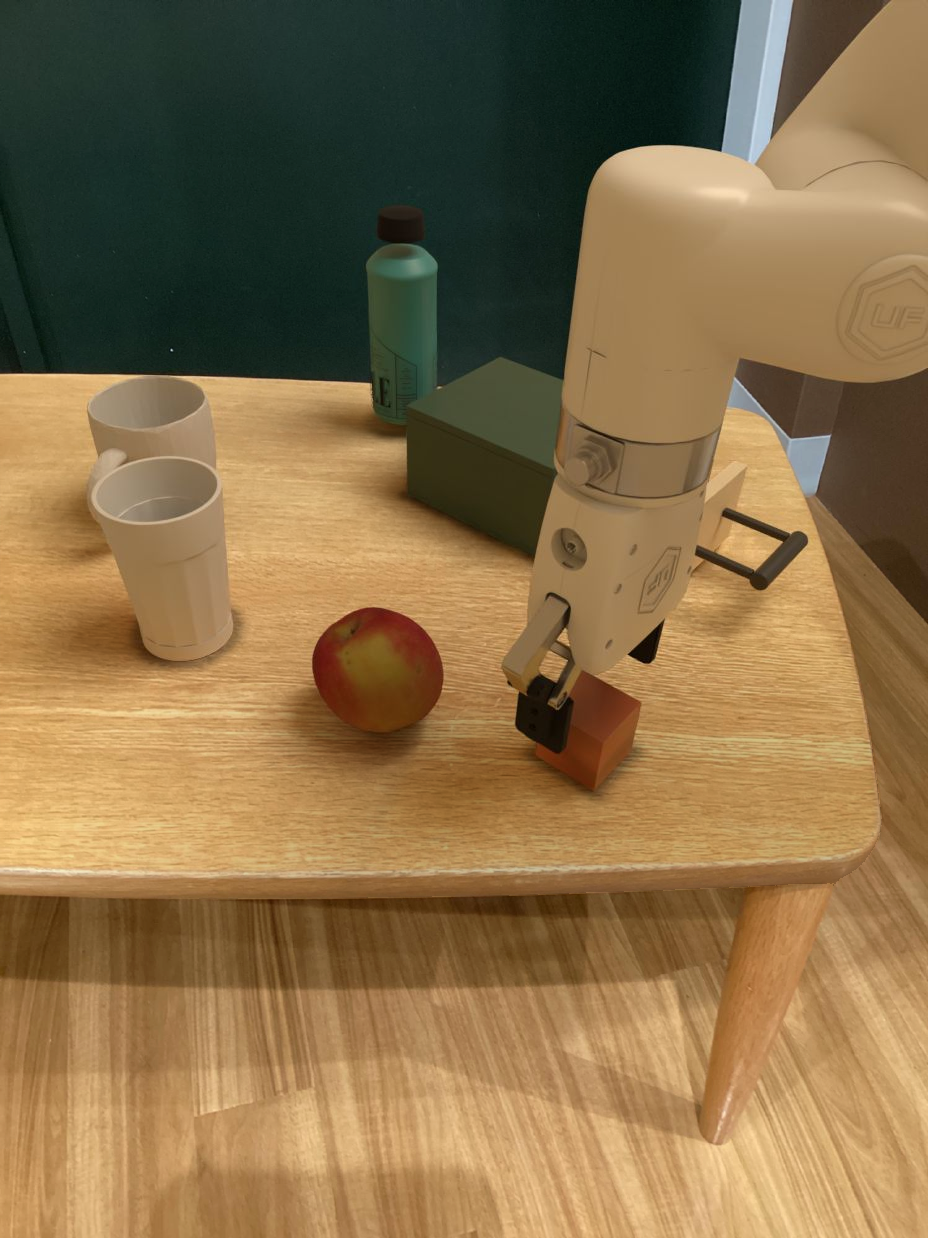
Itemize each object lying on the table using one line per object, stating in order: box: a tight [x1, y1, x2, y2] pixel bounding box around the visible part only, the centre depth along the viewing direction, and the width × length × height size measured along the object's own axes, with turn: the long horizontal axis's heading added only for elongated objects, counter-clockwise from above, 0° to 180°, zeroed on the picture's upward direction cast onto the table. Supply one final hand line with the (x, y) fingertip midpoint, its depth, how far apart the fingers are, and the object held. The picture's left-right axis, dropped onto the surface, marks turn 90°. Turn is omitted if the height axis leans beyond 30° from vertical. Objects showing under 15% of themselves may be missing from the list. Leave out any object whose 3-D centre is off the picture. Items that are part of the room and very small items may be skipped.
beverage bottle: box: [365, 204, 440, 426], centre depth 84 cm, size 6×7×20 cm
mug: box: [85, 375, 217, 525], centre depth 73 cm, size 13×9×10 cm
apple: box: [311, 606, 445, 733], centre depth 58 cm, size 8×8×8 cm
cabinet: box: [405, 356, 564, 558], centre depth 78 cm, size 15×13×9 cm
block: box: [535, 670, 643, 792], centre depth 57 cm, size 4×4×4 cm
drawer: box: [691, 458, 809, 591], centre depth 72 cm, size 20×11×7 cm, turn 51°
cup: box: [91, 456, 234, 662], centre depth 62 cm, size 8×8×12 cm
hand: (587, 693), depth 55 cm, fingers open, 9 cm apart
